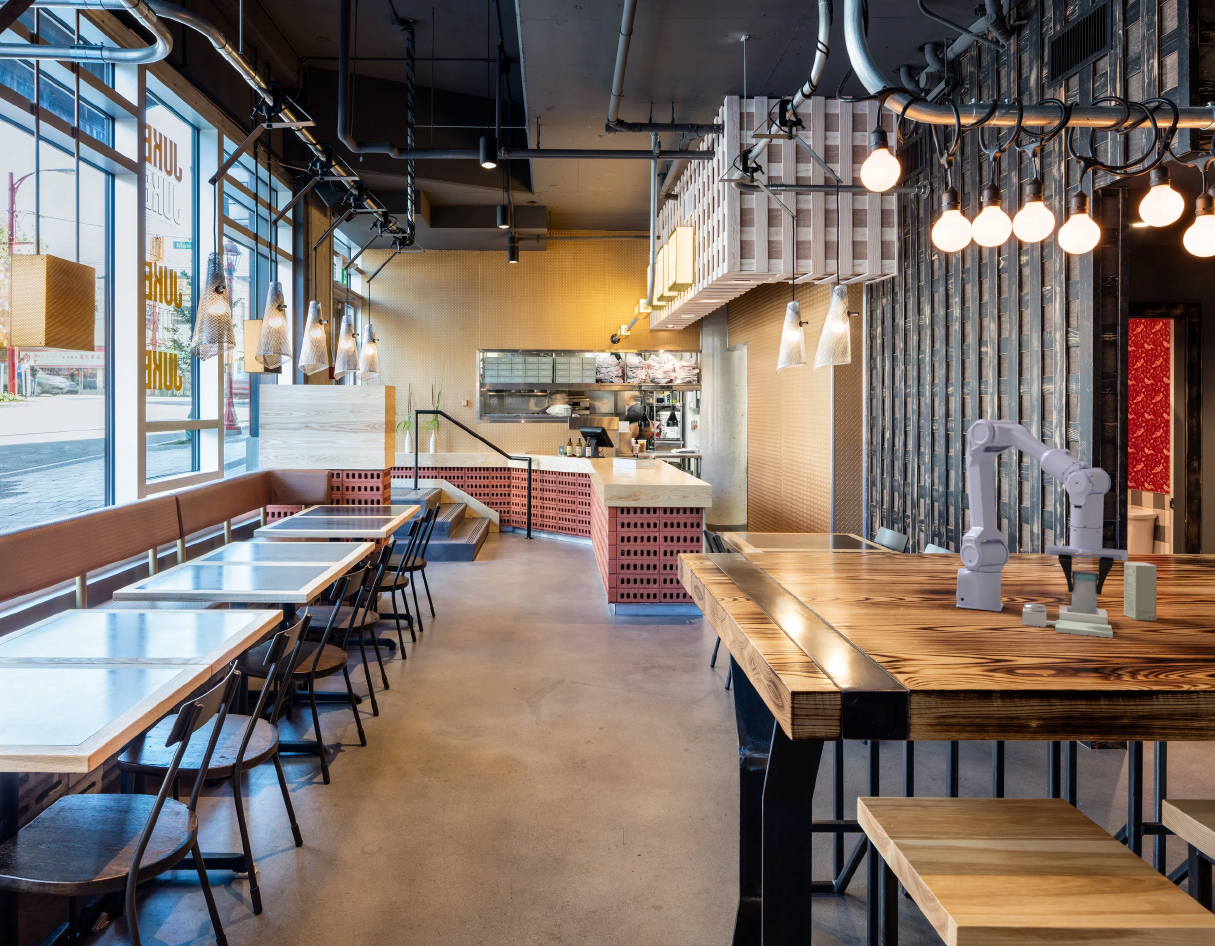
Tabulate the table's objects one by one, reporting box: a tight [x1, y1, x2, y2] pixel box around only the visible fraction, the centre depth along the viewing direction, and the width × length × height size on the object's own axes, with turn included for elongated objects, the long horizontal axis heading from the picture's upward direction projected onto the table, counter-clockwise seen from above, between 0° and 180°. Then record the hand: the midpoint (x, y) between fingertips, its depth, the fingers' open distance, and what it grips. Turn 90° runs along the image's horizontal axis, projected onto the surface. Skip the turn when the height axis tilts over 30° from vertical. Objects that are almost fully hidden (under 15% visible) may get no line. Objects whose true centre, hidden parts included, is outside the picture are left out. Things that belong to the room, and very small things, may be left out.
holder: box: [1021, 604, 1109, 628], centre depth 172 cm, size 16×14×3 cm
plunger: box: [1023, 602, 1046, 612], centre depth 171 cm, size 4×4×4 cm
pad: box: [1054, 619, 1114, 639], centre depth 165 cm, size 10×8×1 cm
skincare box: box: [1123, 561, 1158, 622], centre depth 177 cm, size 6×4×12 cm
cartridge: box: [1071, 570, 1099, 614], centre depth 164 cm, size 5×5×8 cm
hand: (1084, 592), depth 164 cm, fingers closed on cartridge, 4 cm apart
